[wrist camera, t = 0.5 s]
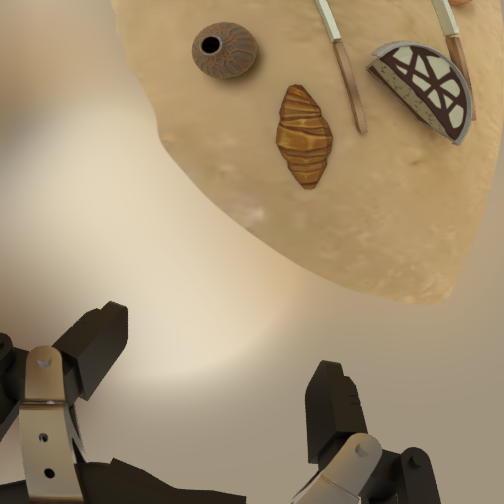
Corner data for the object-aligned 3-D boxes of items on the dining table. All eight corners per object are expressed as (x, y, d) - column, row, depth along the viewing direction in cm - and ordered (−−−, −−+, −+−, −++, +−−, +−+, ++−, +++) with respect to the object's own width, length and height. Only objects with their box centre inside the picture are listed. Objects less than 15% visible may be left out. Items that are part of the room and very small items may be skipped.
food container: (451, 101, 25) (494, 113, 16) (425, 129, 28) (461, 149, 20) (385, 30, 22) (413, 14, 14) (356, 60, 25) (376, 52, 17)
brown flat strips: (332, 46, 25) (335, 43, 23) (450, 39, 20) (459, 37, 18) (357, 129, 30) (361, 133, 28) (467, 117, 25) (476, 120, 23)
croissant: (335, 183, 35) (339, 198, 31) (285, 187, 37) (282, 202, 33) (324, 82, 28) (327, 81, 24) (268, 87, 30) (262, 88, 26)
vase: (216, 86, 30) (189, 88, 23) (198, 40, 27) (167, 31, 20) (268, 68, 28) (257, 63, 21) (250, 21, 25) (232, 3, 17)
